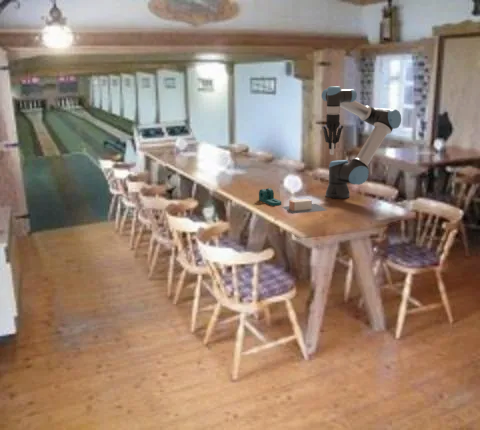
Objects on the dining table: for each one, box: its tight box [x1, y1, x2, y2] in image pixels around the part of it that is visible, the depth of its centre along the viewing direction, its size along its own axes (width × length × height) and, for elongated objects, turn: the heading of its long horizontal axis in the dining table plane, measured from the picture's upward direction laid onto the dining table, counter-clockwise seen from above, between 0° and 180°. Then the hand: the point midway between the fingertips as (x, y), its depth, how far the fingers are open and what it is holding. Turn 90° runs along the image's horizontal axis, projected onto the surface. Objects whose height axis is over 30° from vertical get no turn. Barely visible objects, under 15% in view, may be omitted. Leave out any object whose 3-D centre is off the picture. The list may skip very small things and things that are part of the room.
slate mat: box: [282, 203, 327, 215], centre depth 305 cm, size 22×16×1 cm
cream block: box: [288, 198, 313, 211], centre depth 304 cm, size 5×5×12 cm
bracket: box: [258, 187, 282, 207], centre depth 320 cm, size 18×7×8 cm, turn 28°
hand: (331, 154), depth 307 cm, fingers closed
